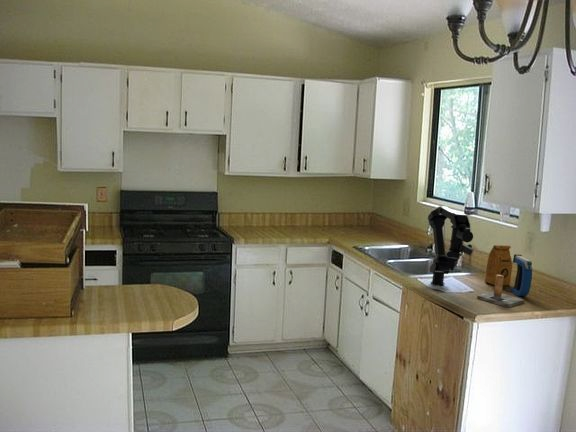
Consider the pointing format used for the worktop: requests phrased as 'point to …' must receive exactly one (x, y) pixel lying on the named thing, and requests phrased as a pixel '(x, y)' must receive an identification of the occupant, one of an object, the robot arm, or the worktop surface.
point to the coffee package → (499, 264)
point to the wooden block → (498, 287)
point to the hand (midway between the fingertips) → (453, 268)
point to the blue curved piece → (522, 276)
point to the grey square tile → (505, 299)
